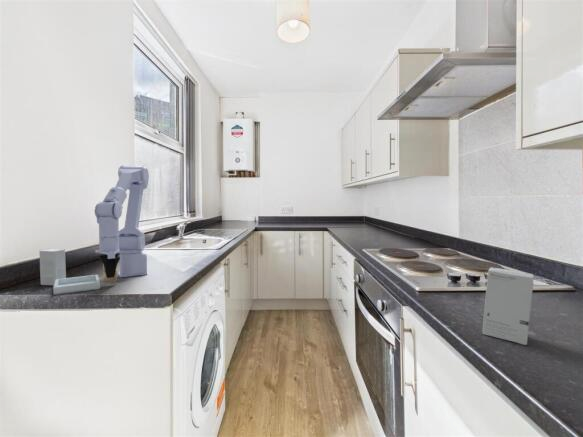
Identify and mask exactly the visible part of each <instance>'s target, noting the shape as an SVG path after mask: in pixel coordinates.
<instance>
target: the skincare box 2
mask: <svg viewBox="0 0 583 437" xmlns="http://www.w3.org/2000/svg"><path fill="white" fill-rule="evenodd" d="M534 276H535V275H534V274H533V273H530V272H523V271H519V270H513V269H505V268H498V267H490V268H489V269H488V270H487V278H486V288H485V300H484V310H483V319H482V321H483V322H482V335H484V336H489V337H492V338H497V339H502V340H504V341H505V340H506V341H509V342H514V343H515V344H517V343H518V344H519V345H522V346H523V345H524V346H527V345H528V337H529V328H530V320H531V319H530V318H531V310H532V309H531V308H532V301H533V299H532V298H533V289H534Z"/></svg>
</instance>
